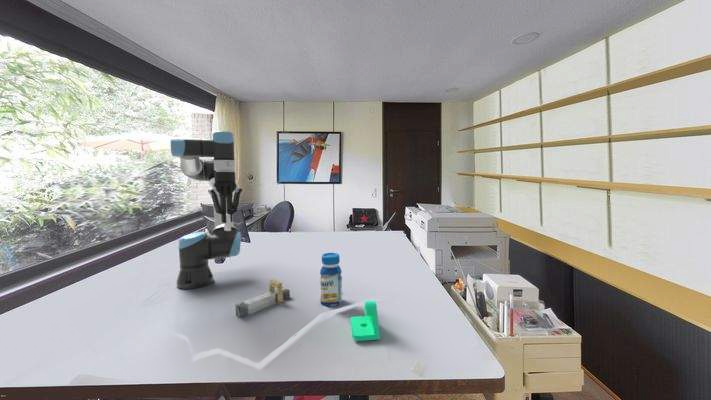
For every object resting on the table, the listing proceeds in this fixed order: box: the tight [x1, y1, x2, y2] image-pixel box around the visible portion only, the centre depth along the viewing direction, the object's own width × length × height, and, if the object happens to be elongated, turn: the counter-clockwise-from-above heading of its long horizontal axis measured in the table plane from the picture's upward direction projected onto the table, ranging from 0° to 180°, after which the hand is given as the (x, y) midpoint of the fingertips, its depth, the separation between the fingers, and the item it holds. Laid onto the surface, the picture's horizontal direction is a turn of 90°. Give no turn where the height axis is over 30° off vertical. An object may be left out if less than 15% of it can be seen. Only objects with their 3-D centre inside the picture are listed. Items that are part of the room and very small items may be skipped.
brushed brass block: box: [268, 279, 284, 305], centre depth 114 cm, size 6×2×8 cm, turn 50°
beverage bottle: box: [319, 252, 343, 310], centre depth 113 cm, size 8×8×20 cm
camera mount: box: [350, 300, 380, 342], centre depth 94 cm, size 12×8×10 cm, turn 7°
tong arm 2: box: [237, 291, 283, 319], centre depth 109 cm, size 18×2×4 cm, turn 140°
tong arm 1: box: [235, 288, 277, 317], centre depth 110 cm, size 18×2×4 cm, turn 140°
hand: (227, 230), depth 118 cm, fingers closed
